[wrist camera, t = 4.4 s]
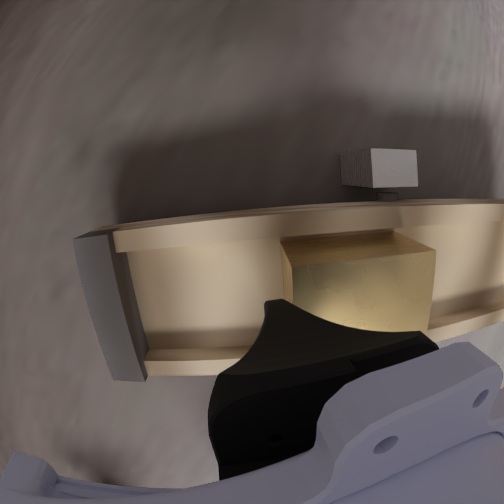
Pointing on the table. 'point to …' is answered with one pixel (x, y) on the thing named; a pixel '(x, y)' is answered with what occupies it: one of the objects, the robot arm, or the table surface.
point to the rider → (361, 280)
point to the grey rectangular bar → (379, 168)
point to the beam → (266, 276)
